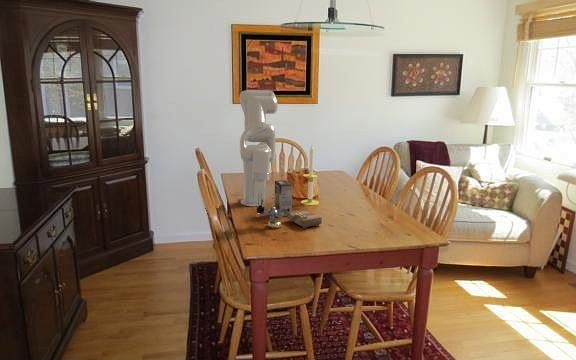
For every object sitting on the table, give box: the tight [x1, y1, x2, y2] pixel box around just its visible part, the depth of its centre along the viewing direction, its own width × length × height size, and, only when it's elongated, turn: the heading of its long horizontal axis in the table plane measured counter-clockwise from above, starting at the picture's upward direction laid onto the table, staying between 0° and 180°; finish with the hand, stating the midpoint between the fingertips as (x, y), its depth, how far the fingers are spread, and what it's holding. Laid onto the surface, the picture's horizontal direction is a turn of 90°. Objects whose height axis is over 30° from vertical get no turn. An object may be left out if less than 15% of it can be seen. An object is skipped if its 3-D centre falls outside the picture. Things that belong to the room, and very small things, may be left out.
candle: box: [300, 144, 320, 206], centre depth 247 cm, size 10×10×32 cm
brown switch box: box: [286, 209, 323, 230], centre depth 216 cm, size 14×10×6 cm
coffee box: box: [274, 179, 294, 217], centre depth 230 cm, size 9×6×16 cm
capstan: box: [255, 205, 287, 229], centre depth 210 cm, size 16×15×9 cm
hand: (260, 214), depth 211 cm, fingers closed
